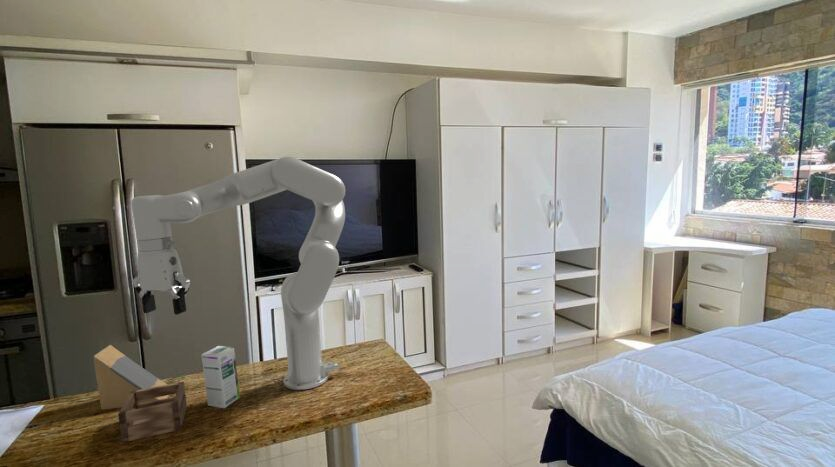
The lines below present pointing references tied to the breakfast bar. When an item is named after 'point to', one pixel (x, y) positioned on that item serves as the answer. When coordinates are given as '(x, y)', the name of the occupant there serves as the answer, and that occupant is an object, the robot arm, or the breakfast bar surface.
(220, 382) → the syrup box
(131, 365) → the sandwich container
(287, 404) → the breakfast bar surface
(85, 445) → the breakfast bar surface
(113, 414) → the breakfast bar surface
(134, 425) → the crate
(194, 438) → the breakfast bar surface
